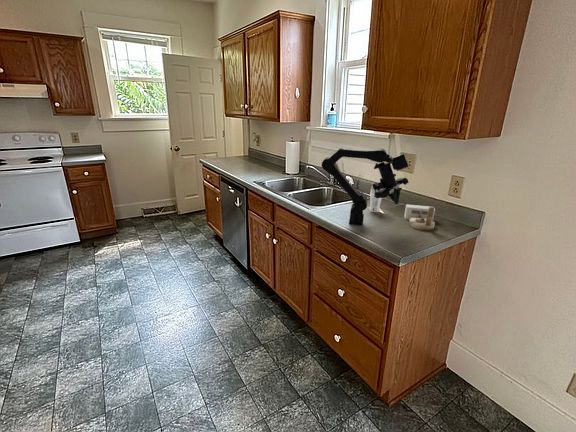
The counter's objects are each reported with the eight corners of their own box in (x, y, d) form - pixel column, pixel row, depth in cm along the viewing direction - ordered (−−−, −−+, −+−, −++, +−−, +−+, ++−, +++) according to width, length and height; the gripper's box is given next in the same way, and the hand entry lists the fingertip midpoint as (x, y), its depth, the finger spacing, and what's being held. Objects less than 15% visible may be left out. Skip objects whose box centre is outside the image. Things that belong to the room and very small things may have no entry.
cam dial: (404, 222, 164) (407, 201, 160) (424, 220, 167) (428, 200, 163) (418, 231, 153) (422, 208, 149) (439, 229, 156) (443, 207, 152)
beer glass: (382, 210, 181) (386, 185, 176) (377, 213, 176) (380, 188, 171) (371, 208, 185) (374, 183, 180) (365, 210, 180) (368, 185, 175)
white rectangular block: (405, 220, 168) (407, 207, 165) (404, 216, 173) (406, 204, 171) (433, 222, 165) (435, 210, 163) (431, 218, 170) (433, 206, 168)
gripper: (386, 169, 162) (395, 197, 165) (362, 183, 153) (372, 212, 156) (404, 166, 152) (413, 195, 155) (379, 181, 144) (389, 211, 147)
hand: (397, 203), depth 154 cm, fingers closed
